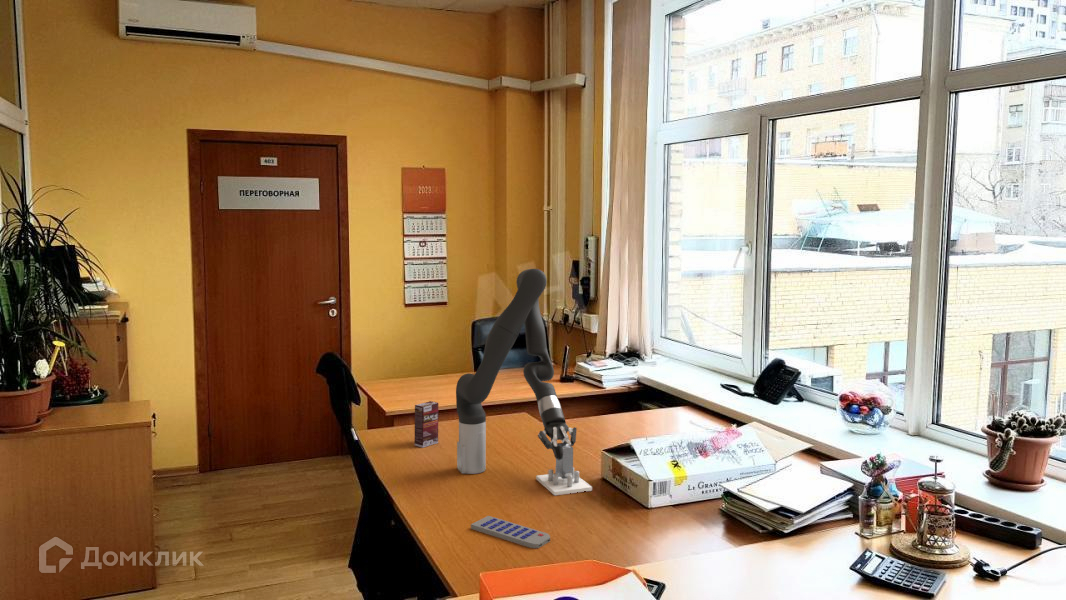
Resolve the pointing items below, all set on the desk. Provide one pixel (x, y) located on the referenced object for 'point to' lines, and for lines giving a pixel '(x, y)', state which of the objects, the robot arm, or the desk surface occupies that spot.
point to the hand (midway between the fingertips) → (565, 457)
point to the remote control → (511, 532)
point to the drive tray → (563, 483)
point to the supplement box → (426, 424)
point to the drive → (565, 460)
